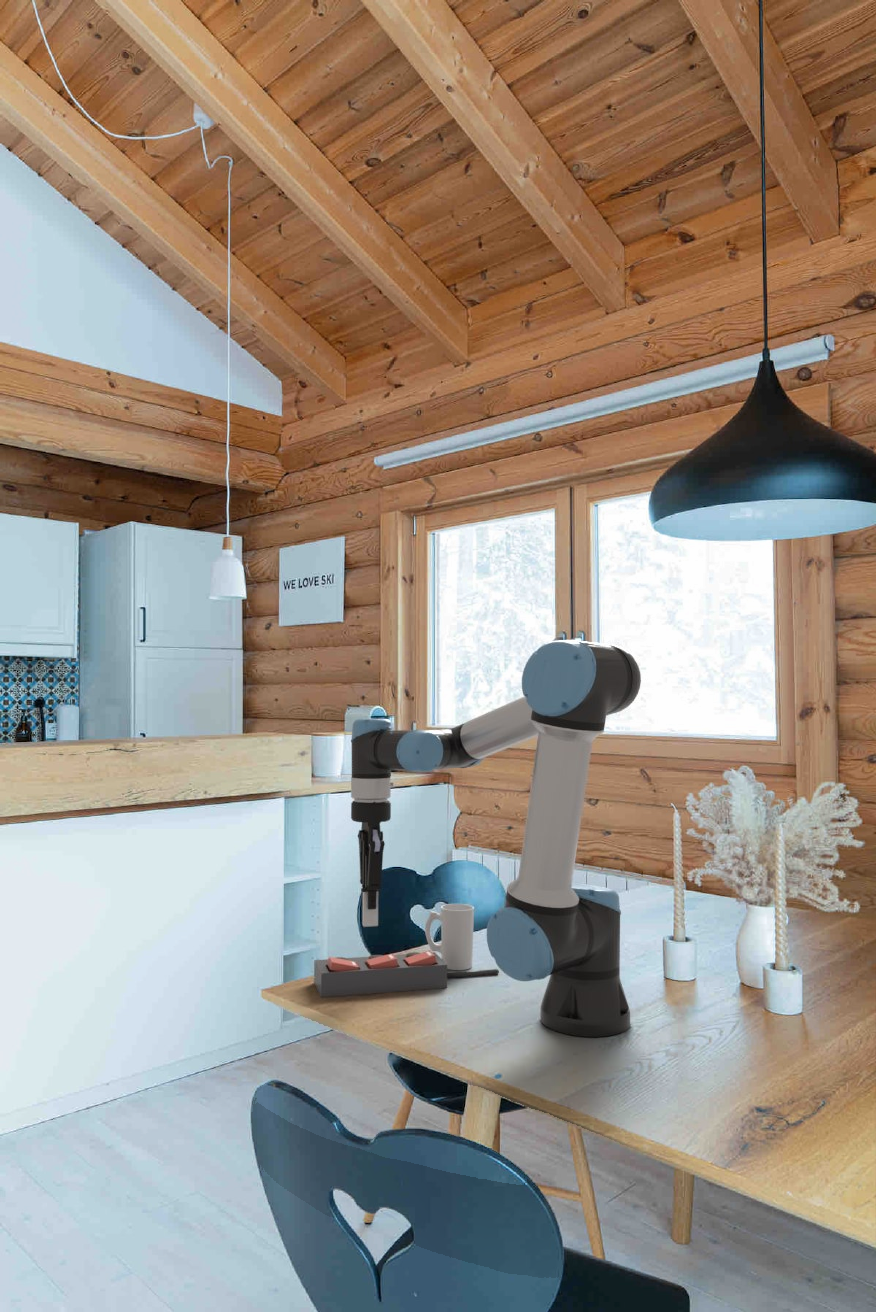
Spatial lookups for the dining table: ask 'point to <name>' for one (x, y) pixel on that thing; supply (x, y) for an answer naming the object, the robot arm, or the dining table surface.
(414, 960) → the rocker
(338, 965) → the rocker
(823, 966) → the dining table surface
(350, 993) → the switch panel
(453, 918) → the mug
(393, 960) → the rocker
